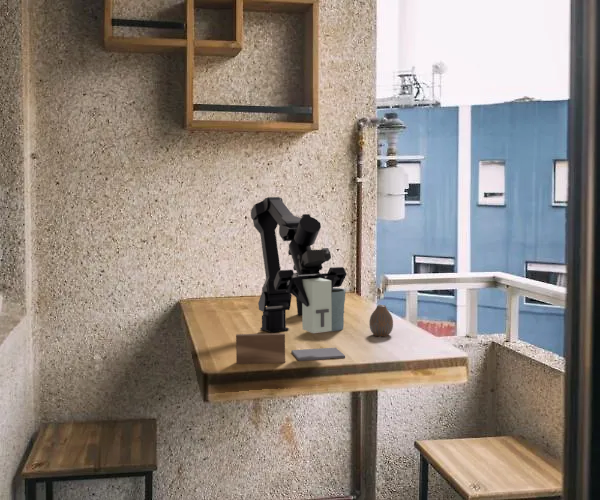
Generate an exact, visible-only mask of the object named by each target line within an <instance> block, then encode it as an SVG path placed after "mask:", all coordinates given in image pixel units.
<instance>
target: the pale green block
mask: <svg viewBox="0 0 600 500" xmlns="http://www.w3.org/2000/svg"><path fill="white" fill-rule="evenodd" d="M302 284H303V288H304V290H305V293H306V296H307V298H308V302H309V306H308V307H306V306H305V305H304V304H303V303H302V317H301V318H302V319H301V321H302V324H301V325H302V330H303V331H306V332H308V333H311V334H317V333H318V334H319V333H326V332H333V331H332V304H331V280H327V279H323V278H314V279H303V280H302Z"/></svg>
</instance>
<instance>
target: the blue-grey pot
mask: <svg viewBox="0 0 600 500" xmlns="http://www.w3.org/2000/svg"><path fill="white" fill-rule="evenodd" d="M345 302H346V289H345V288H339V287H333V289H332V299H331V304H332V331H331V332H339V331H343V330H344V327H345V326H344V324H345V320H344V317H345V315H344V313H345Z"/></svg>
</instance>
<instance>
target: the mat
mask: <svg viewBox="0 0 600 500" xmlns="http://www.w3.org/2000/svg"><path fill="white" fill-rule="evenodd" d="M291 354H292V355H293V356H294V357H295V358H296V360H298V362H300V361H301V362H305V361H317V360H318V361H319V360H330V358H336V359H345V358H346V355H345V353H343V352H342V351H340V349H339V348H337V347H325V348H323V347H322V348H305V349H304V348H303V349H291Z"/></svg>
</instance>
